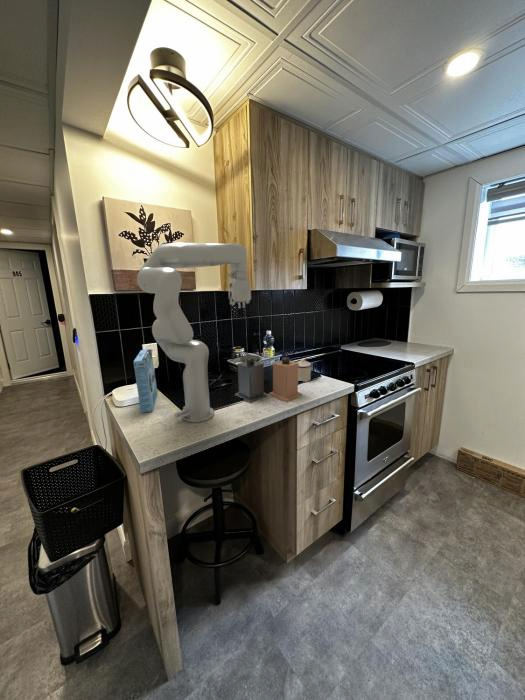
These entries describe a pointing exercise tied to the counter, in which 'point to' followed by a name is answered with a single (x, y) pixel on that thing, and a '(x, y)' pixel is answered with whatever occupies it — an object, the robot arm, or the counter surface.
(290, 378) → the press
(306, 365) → the teacup with lid
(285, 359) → the plunger
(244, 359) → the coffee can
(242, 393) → the press
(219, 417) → the counter surface
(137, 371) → the gum box
